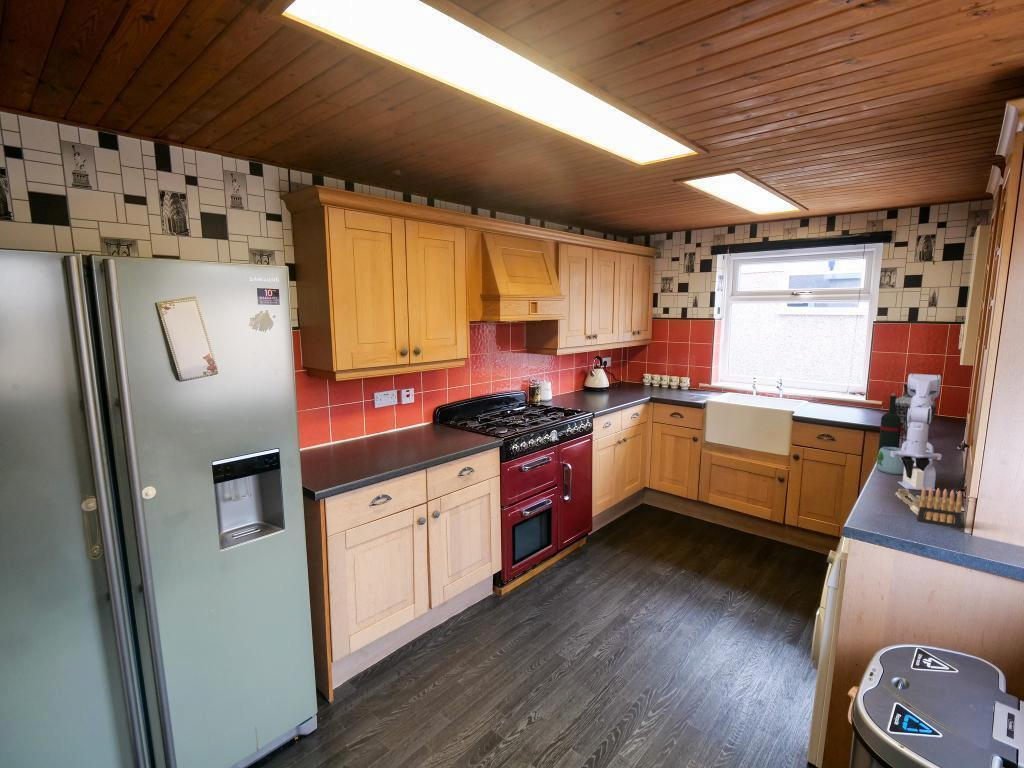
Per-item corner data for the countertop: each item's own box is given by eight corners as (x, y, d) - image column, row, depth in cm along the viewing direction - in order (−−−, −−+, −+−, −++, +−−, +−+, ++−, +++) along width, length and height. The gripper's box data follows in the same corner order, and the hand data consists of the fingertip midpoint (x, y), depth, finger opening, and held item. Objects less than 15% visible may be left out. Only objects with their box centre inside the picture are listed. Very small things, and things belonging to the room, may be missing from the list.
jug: (897, 442, 267) (903, 385, 263) (880, 433, 286) (884, 380, 282) (943, 443, 263) (949, 385, 259) (922, 435, 281) (928, 380, 277)
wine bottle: (903, 459, 236) (909, 395, 231) (876, 455, 242) (881, 393, 238) (905, 456, 241) (911, 393, 237) (879, 452, 248) (884, 391, 244)
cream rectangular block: (909, 479, 187) (911, 463, 187) (922, 488, 178) (924, 471, 177) (903, 479, 188) (904, 463, 187) (915, 488, 178) (917, 471, 178)
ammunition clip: (959, 526, 163) (963, 490, 161) (960, 528, 161) (964, 491, 160) (916, 519, 169) (920, 484, 167) (917, 521, 167) (921, 486, 165)
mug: (866, 464, 229) (868, 443, 227) (894, 465, 227) (896, 443, 225) (884, 475, 214) (886, 452, 213) (913, 476, 212) (916, 453, 211)
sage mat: (948, 499, 186) (948, 497, 186) (968, 512, 174) (968, 511, 173) (915, 496, 189) (916, 495, 189) (932, 509, 177) (933, 508, 176)
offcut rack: (912, 496, 190) (912, 488, 189) (939, 517, 170) (940, 508, 170) (893, 494, 191) (893, 487, 191) (917, 515, 172) (918, 506, 172)
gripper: (897, 441, 179) (893, 479, 181) (947, 444, 175) (943, 482, 177) (889, 437, 186) (886, 473, 188) (937, 439, 182) (933, 476, 183)
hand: (913, 477), depth 183 cm, fingers closed on cream rectangular block, 2 cm apart
